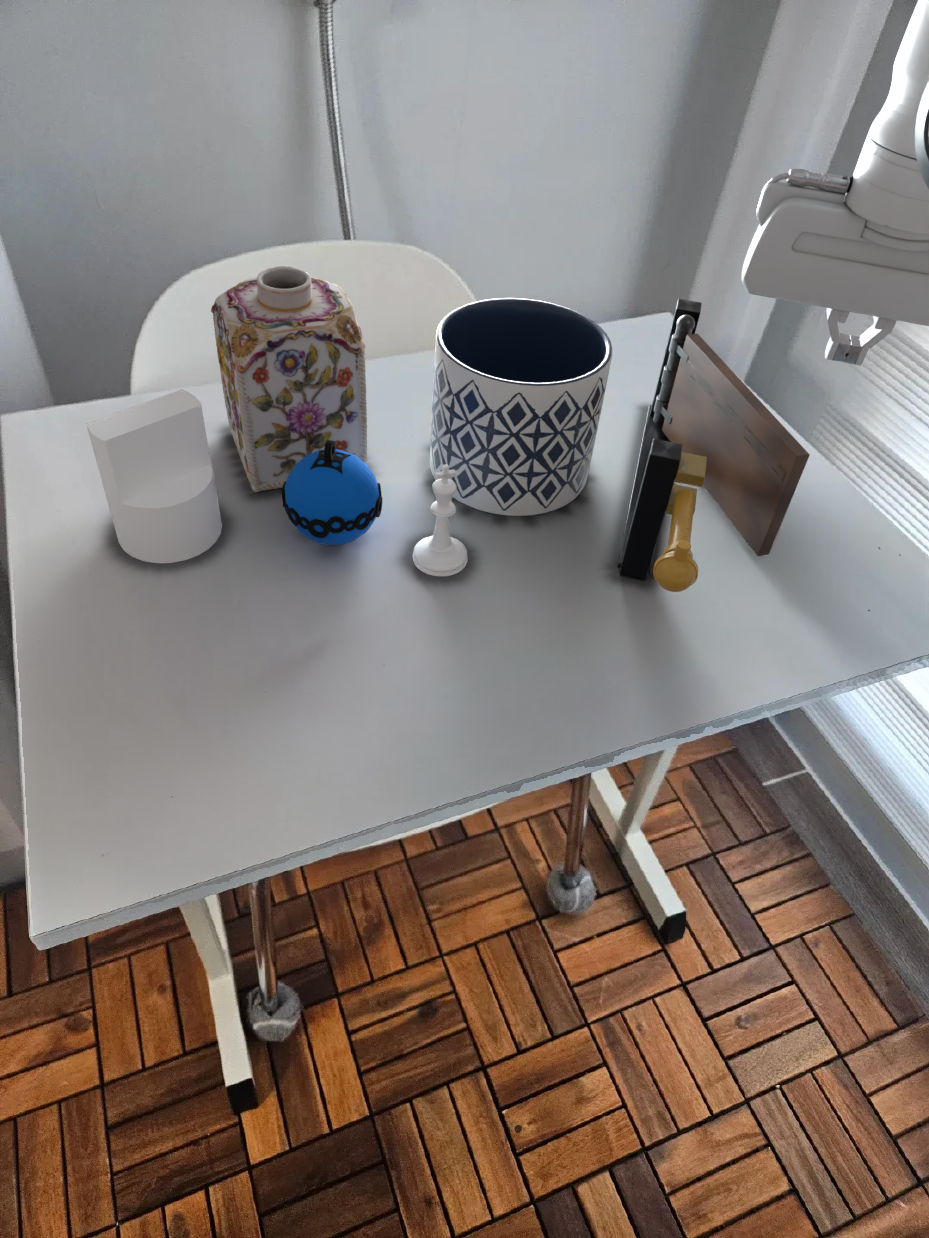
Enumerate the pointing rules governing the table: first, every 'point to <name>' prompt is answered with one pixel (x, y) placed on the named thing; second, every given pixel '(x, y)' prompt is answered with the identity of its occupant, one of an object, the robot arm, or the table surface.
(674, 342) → the gate
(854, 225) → the robot arm
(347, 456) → the ornament
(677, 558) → the bolt
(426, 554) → the chess piece
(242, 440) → the decorative jar
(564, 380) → the planter
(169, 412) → the cylinder with rectangular tab
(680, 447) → the gate frame
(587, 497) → the table surface
